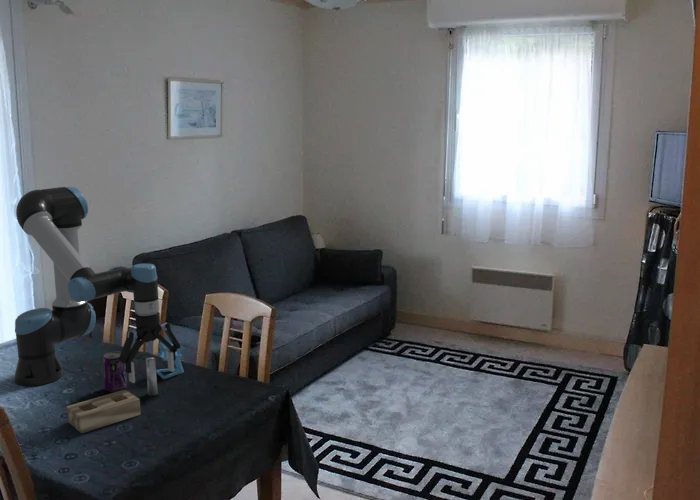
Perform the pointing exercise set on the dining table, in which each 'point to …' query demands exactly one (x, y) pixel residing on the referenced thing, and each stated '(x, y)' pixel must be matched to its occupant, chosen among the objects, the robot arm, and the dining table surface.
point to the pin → (151, 376)
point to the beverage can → (114, 372)
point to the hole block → (103, 411)
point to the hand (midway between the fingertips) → (152, 376)
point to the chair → (164, 357)
